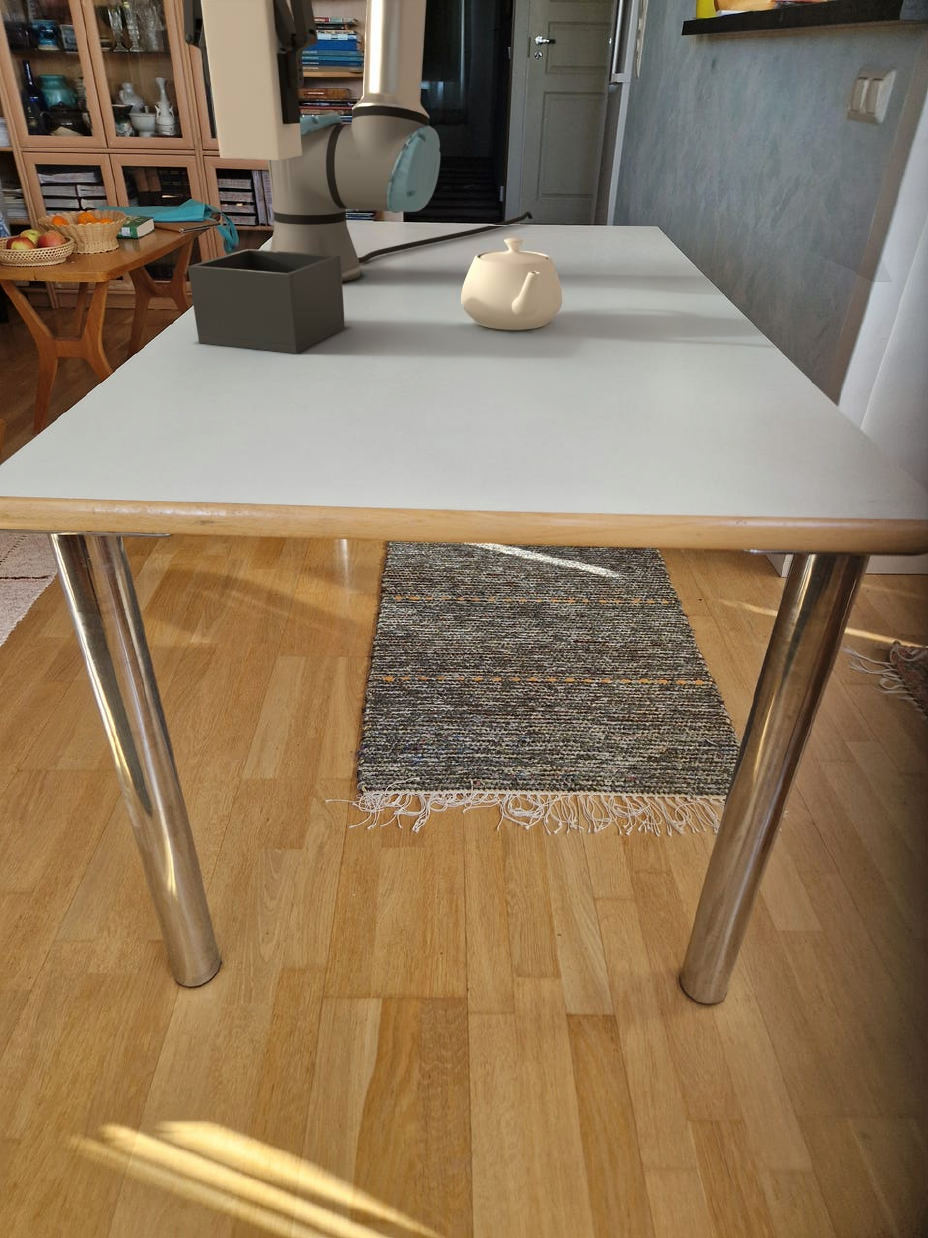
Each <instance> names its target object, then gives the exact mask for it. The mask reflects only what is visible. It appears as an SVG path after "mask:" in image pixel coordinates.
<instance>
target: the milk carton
mask: <svg viewBox="0 0 928 1238" xmlns="http://www.w3.org/2000/svg"><path fill="white" fill-rule="evenodd" d="M286 1H287V4H288V7H289V9H290V12H291V13H292V8H291V3H290V0H286ZM201 5H202V13H203V21H204V30H205V38H206V46H207V54H208V62H209V70H210V78H211V86H212V87H211V94H212V101H213V102H212V103H213V110H214V118H215V127H216V135H217V143H218V152H219V157H220V159H226V160H227V159H228V160H249V161H250V160H251V161H254V160H255V161H268V160H283V159H288V158H292V157H297V156H301V155H302V147H301V134H300V123H296V124H283V119H282V108H281V96H280V85H279V73H278V62H277V53H285V52H282V51H281V50H280V48H282V44H281V42H280V39H279V37H278V34H277V31H276V29H275V21H274V9H273V0H201ZM285 54H286V53H285Z"/></svg>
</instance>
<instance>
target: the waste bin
mask: <svg viewBox="0 0 928 1238" xmlns="http://www.w3.org/2000/svg"><path fill="white" fill-rule="evenodd" d="M187 271H188V277H189V278H188V279H189V284H190V286H189V287H190V290H191V291H190V292H191V299H192V305H193V312H194V318H195V325H196V333H197V339H198V343H199V344H205V345H214V346H222V347H231V348H241V349H248V350H249V349H250V350H257V351H259V350H261V351H268V352H277V353H286V354H295V355H296V354H299V353H301V352H303V351H304V350H306V349H308V348H310V347H312V346H314V345H315V344H318V343H320V342H321V341H323V340H325V339H327V338H329V337H331V336H332V335H334V334H336V333H338V332H341V331H342V330H344V329H346V325H345V324H346V322H345V308H344V305H345V304H344V291H343V290H344V289H343V288H344V287H343V282H342V272H341V256H335V255H322V254H309V253H295V252H282V251H270V249H269V250H266V249H254V248H246V249H242V250H238V251H235V252H232V253H228V254H224V255H222V256H218V257H214V258H211V259H208V260H205V261H202V262H198V263H194V264H191V265H188V266H187Z"/></svg>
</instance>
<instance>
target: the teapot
mask: <svg viewBox="0 0 928 1238" xmlns="http://www.w3.org/2000/svg"><path fill="white" fill-rule="evenodd" d="M503 241H504V243H505V244H506V246H507V248H508V250H507V249H506V250H504V249H503V250H490V251H483V252H480V253H478V254H476V255H475V256H474V258H473V260H472V263H471V265H470V266H469V269H468V270H467V271H468V272H467V274H466V276H465V279H464V282H463V285H462V288H461V289H462V290H461V293H460V302H461V306H462V308H463V310H464V312H465V313H466V314H467V315H468V316H469V317H470V319H472V320H473V322H474V323H475V324H477V325H480V326H481V327H485V328H489V329H494V330H495V329H496V330H506V331H522V330H523V331H524V330H532V329H537V328H541V327H543V326H545V325H547V324H548V323H549V322H550V321H551V320H552V319H553V318H555V316H556V315H557V314H558V313H559V312H560V311H561V308H562V305H563V292H562V286H561V282H560V279H559V276H558V272H557V270H556V267H555V264H554V262H553V258H552V257H551V256H549V255H548V254H545V253H541V252H538V251H537V252H536V251H530V250H519V247H520V246H522V244H523V243H524V239H523V238H520V237H507V238H505V239H503Z"/></svg>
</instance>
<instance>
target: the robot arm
mask: <svg viewBox="0 0 928 1238" xmlns="http://www.w3.org/2000/svg"><path fill="white" fill-rule="evenodd" d="M290 7H291V12H290V9H289V7H288V4H287V1H286V0H273V9H274V21H275V29H276V31H277V34H278V37H279V39H280V42H281V44H282V48H280V50H281V51H282V52H285V53H286V54H285V53H277V62H278V73H279V85H280V96H281V108H282V119H283V124H296V123H300V134H301V147H302V155H301V156H297V157H292V158H288V159H283V160H267V165H268V175H269V183H270V185H269V186H270V195H271V205H272V213H273V223H274V227H273V232H272V237H271V243H270V247H269V251H282V252H295V253H309V254H322V255H335V256H341V272H342V283H344V282H349V281H353V280H356V279H358V278H359V277H360V276H361V264H364V263H366V262H368V261H370V260H371V259H373V258H375V257H379V256H383V255H386V254H390V253H395V252H399V251H404V250H408V249H413V248H417V247H420V246H426V245H432V244H435V243H440V242H445V241H449V240H454V239H459V238H463V237H469V236H473V235H477V234H481V233H486V232H489V231H493V230H496V229H500V228H503V227H504V226H490V225H486V226H482V227H477V228H473V229H469V230H465V231H464V230H463V231H459V232H455V233H449V234H443V235H440V236H439V235H438V236H435V237H430V238H426V239H425V238H424V239H420V240H416V241H411V242H407V243H406V242H405V243H402V244H397V245H393V246H389V247H383V248H380V249H377V250H372V251H371V252H368V253H366V254H365V255H363V256H360V257H358V254H357V251H356V248H355V245H354V243H353V239H352V236H351V235H350V231H349V228H348V223H347V210H359V211H378V212H379V211H380V212H391V213H393V214H398V213H410V212H411V213H413V212H419V211H421V210H423V208H425V207H426V206H427V205H428V203H429V202H430V200H431V198H432V197H433V194H434V192H435V189H436V186H437V182H438V177H439V174H440V167H441V151H440V148H441V141H440V137H439V134H438V132H437V131H436V129H435V128H433V127H432V126H430V115H429V114H428V113H427V111H426V110H425V108H424V107H423V105H422V102H421V95H422V78H423V60H424V46H425V45H424V43H425V28H426V27H425V25H426V11H427V10H426V9H427V0H366V14H365V15H366V16H365V36H364V63H363V65H364V66H363V87H362V88H363V89H362V91H363V93H362V97H361V99H360V100H358V101H357V102H356V104H354V105H353V107H351V109H352V110H351V124H343V120H342V118H341V115H340V114H339V113H329V114H328V113H327V114H319V115H312V116H311V115H310V116H303V117H301V113H300V101H299V90H298V89H303V88H304V85H305V82H304V81H305V78H304V66H303V65H304V64H303V53H304V51H305V50H307V49H309V48H311V47H315V46H317V45H318V43H319V42H318V41H319V37H318V31H317V25H316V20H315V15H314V9H313V3H312V0H290ZM182 11H183V12H182V14H183V15H182V18H183V21H182V22H183V39H184V42H185V44H187V45H189V46H193V47H195V48H197V49H199V51H200V52H201V53H202V58H203V66H204V73H205V81H206V84H207V86H208V87H209V88H210V87H211V88H212V86H211V78H210V70H209V62H208V54H207V46H206V38H205V30H204V21H203V13H202V5H201V0H182ZM532 215H533V214H532V213H531V212H530V211H525V212H524V213H523V214H521V215H520V216H518V217H514V218H511V219H508V220H505V221H500V222H498V223H493V224H492V225H507V226H510V225H512V224H516V223H518V222H521V221H524V220H525V219H526V218H528V220H533V218H534V217H533V216H532Z"/></svg>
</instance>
